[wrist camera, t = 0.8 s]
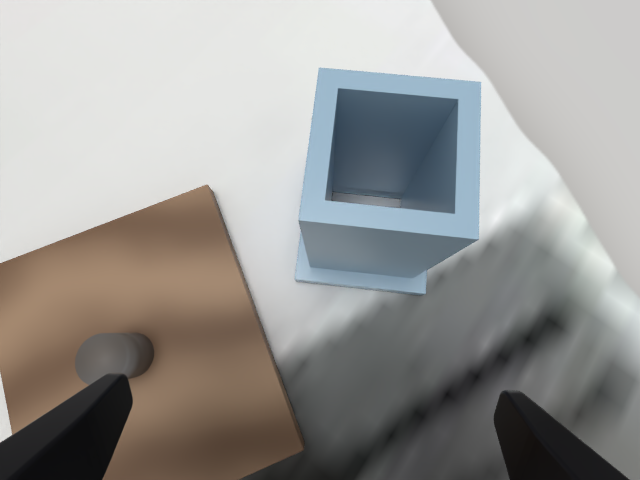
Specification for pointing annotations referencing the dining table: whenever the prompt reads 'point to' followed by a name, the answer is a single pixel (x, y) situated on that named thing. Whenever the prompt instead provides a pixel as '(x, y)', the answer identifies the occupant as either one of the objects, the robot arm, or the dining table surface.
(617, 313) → the dining table surface
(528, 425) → the robot arm
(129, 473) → the locating plate
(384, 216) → the light blue square holder
